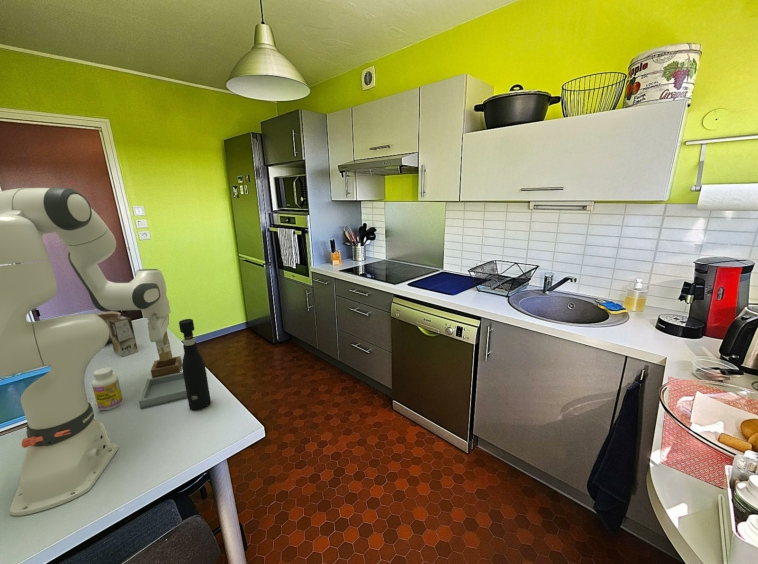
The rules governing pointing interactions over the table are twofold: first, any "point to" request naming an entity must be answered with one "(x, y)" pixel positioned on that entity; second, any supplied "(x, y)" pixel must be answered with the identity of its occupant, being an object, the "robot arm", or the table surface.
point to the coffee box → (122, 335)
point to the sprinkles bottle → (164, 348)
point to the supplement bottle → (106, 389)
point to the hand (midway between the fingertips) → (162, 343)
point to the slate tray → (163, 390)
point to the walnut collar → (166, 367)
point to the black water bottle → (194, 369)
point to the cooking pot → (108, 317)
